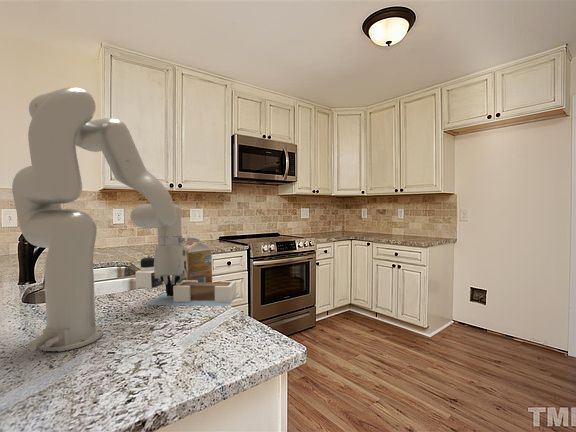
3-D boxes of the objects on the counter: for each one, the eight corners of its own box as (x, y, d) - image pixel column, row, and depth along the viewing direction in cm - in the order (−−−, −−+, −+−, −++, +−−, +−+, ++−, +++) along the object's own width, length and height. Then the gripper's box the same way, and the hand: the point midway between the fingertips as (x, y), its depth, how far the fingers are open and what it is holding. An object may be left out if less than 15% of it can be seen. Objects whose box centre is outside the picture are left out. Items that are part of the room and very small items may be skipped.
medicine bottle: (152, 290, 115) (151, 259, 114) (135, 290, 116) (134, 259, 116) (163, 285, 122) (162, 256, 121) (147, 285, 123) (146, 256, 123)
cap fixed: (230, 302, 96) (230, 287, 96) (214, 302, 97) (214, 286, 97) (236, 295, 104) (236, 281, 104) (221, 295, 104) (221, 281, 104)
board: (228, 309, 93) (228, 305, 93) (144, 308, 95) (144, 304, 95) (238, 295, 107) (238, 292, 107) (165, 294, 109) (165, 292, 109)
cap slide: (189, 301, 97) (188, 286, 97) (173, 301, 98) (173, 286, 97) (198, 294, 105) (197, 280, 105) (183, 294, 105) (183, 280, 105)
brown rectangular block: (227, 300, 98) (227, 285, 98) (179, 300, 100) (179, 285, 99) (230, 297, 102) (229, 282, 102) (184, 296, 103) (184, 282, 103)
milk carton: (176, 283, 126) (175, 238, 125) (199, 278, 133) (198, 236, 133) (188, 287, 118) (187, 239, 118) (212, 282, 126) (211, 237, 125)
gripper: (195, 240, 104) (197, 292, 105) (154, 240, 105) (155, 292, 106) (187, 242, 97) (188, 299, 97) (142, 242, 98) (144, 298, 98)
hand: (171, 295), depth 102 cm, fingers closed
